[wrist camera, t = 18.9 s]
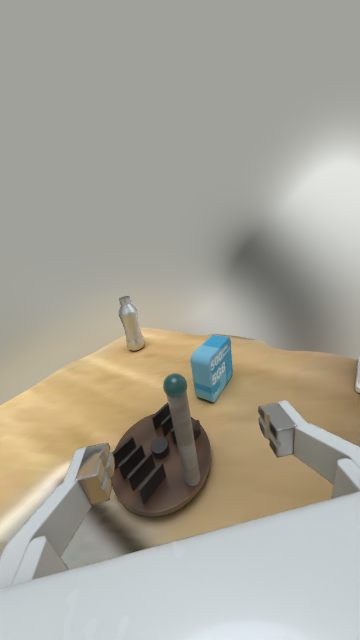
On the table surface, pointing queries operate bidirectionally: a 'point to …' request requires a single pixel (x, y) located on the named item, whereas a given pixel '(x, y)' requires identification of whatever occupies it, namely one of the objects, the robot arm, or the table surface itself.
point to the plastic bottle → (130, 324)
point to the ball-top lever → (162, 457)
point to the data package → (212, 367)
